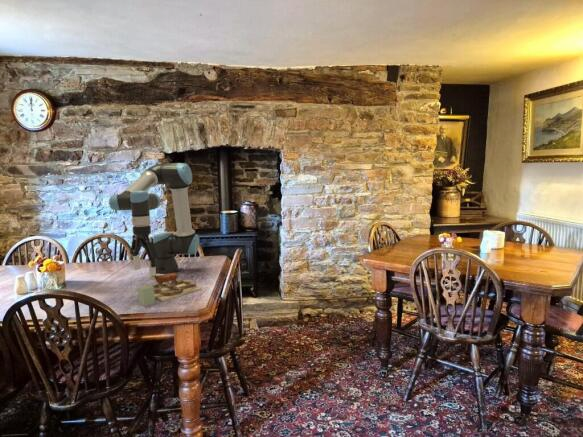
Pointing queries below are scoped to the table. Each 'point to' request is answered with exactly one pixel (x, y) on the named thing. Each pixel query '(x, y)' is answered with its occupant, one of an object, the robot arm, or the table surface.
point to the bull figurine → (165, 279)
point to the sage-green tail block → (146, 295)
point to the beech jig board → (174, 290)
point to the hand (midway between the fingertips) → (144, 271)
